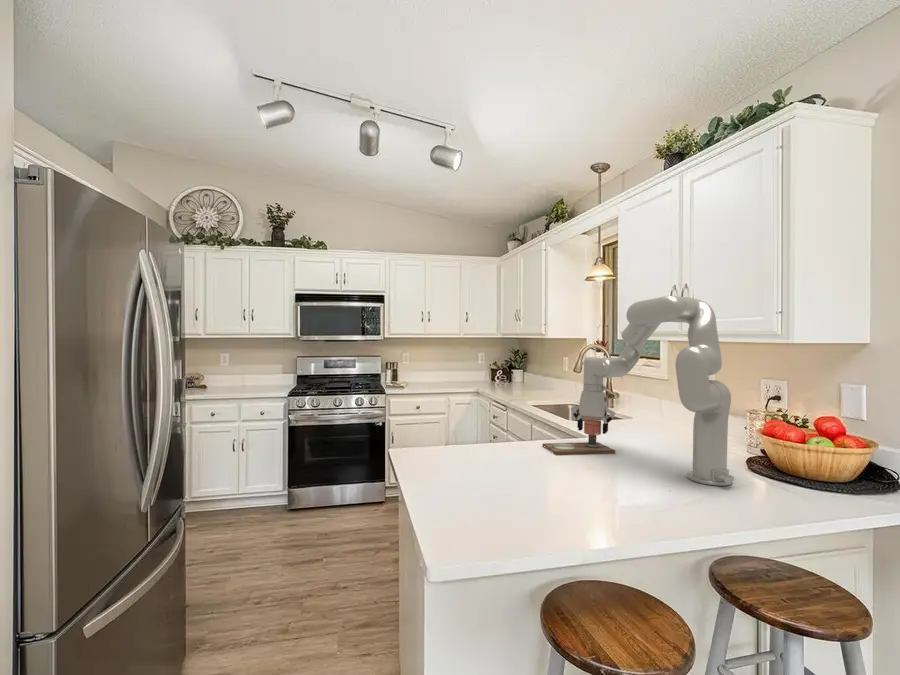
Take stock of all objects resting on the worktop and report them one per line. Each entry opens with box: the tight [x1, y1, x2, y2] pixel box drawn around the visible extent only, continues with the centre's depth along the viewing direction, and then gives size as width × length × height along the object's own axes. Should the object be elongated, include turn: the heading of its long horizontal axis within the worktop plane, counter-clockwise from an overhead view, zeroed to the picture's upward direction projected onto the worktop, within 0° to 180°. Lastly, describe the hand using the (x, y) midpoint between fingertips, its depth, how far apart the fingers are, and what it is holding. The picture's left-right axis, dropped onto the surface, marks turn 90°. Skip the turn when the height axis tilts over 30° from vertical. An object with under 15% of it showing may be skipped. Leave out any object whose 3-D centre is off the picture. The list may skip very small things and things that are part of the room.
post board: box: [542, 434, 616, 456], centre depth 183 cm, size 14×24×10 cm, turn 100°
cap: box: [583, 418, 602, 436], centre depth 184 cm, size 8×6×5 cm
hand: (592, 431), depth 184 cm, fingers open, 9 cm apart
